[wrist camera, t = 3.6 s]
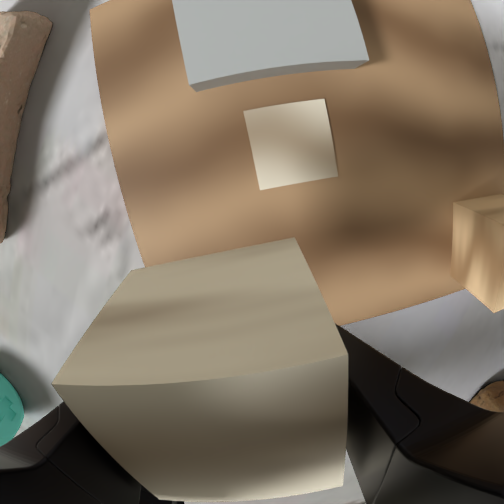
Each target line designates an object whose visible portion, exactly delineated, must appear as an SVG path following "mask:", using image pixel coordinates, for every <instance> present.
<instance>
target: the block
mask: <svg viewBox="0 0 504 504" xmlns="http://www.w3.org/2000/svg"><path fill="white" fill-rule="evenodd" d="M470 403H472V404H474V405H476V406H478V407H481V408H483V409H486V410H490V411H496V412H504V381H497V382H493V383H491V384H489V385H488V386H486V387H485V388H484V389H481V390H480V391H479V393H478V394H477V395H476V396H475V397H474V398H473V399H472V400H471V401H470Z"/></svg>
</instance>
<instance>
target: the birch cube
mask: <svg viewBox="0 0 504 504" xmlns="http://www.w3.org/2000/svg"><path fill="white" fill-rule="evenodd" d="M52 386H53V387H54V389H55V390H56V391H57V393H58V394H59V395H60V397H61V398H62V399H63V401H64V402H65V403H66V405H67V406H68V407H69V409H70V410H71V411H72V412H73V414H74V415H75V416H76V417H77V418H78V420H79V421H80V422H81V423H82V424H83V426H84V427H85V428H86V429H87V430H88V431H89V433H90V434H91V435H92V436H93V437H94V438H95V439H96V440H97V442H98V443H99V444H100V445H101V446H102V447H103V448H104V449H105V450H106V451H107V452H108V453H109V454H110V455H111V456H112V457H113V458H114V459H115V460H116V461H117V462H118V463H119V464H120V465H121V466H122V467H123V468H124V469H125V470H126V471H127V472H128V473H129V474H130V475H131V476H133V477H134V478H135V479H136V480H137V481H138V482H139V483H140V484H142V485H143V486H144V487H145V488H146V489H147V490H148V491H150V492H151V493H152V494H153V495H155V496H156V497H157V498H158V499H159V500H172V501H190V502H230V501H249V500H261V499H271V498H279V497H287V496H294V495H300V494H306V493H311V492H317V491H322V490H326V489H331V488H335V487H340V486H343V477H344V466H345V453H346V438H347V416H348V353H347V350H346V348H345V346H344V343H343V341H342V339H341V336H340V334H339V332H338V330H337V327H336V325H335V323H334V321H333V318H332V316H331V314H330V312H329V309H328V307H327V305H326V303H325V301H324V298H323V296H322V294H321V292H320V290H319V288H318V285H317V283H316V281H315V279H314V277H313V275H312V273H311V270H310V268H309V266H308V264H307V262H306V260H305V258H304V256H303V254H302V252H301V249H300V247H299V245H298V243H297V241H296V239H295V237H294V238H289V239H284V240H279V241H274V242H269V243H264V244H259V245H254V246H249V247H244V248H239V249H234V250H229V251H224V252H219V253H214V254H209V255H204V256H199V257H194V258H189V259H184V260H179V261H174V262H170V263H165V264H160V265H155V266H150V267H145V268H140V269H135V270H131V271H130V273H129V274H128V275H127V277H126V278H125V279H124V280H123V282H122V283H121V284H120V286H119V287H118V288H117V290H116V291H115V292H114V294H113V295H112V296H111V298H110V299H109V300H108V302H107V303H106V304H105V306H104V307H103V308H102V310H101V311H100V313H99V314H98V315H97V317H96V318H95V319H94V321H93V322H92V324H91V325H90V327H89V328H88V329H87V331H86V332H85V334H84V335H83V337H82V338H81V339H80V341H79V342H78V344H77V345H76V347H75V348H74V350H73V351H72V353H71V354H70V356H69V357H68V359H67V360H66V362H65V363H64V365H63V366H62V368H61V369H60V371H59V373H58V374H57V376H56V377H55V379H54V381H53V382H52Z"/></svg>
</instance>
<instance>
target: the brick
mask: <svg viewBox="0 0 504 504" xmlns="http://www.w3.org/2000/svg"><path fill="white" fill-rule="evenodd" d="M51 28H52V22H51V21H49V19H48V18H47V17H45V16H41V15H39V14H38V13H36V12H31V11H20V12H17V11H15V12H3V11H2V12H0V243H2V242H3V239H4V237H5V231H6V223H7V214H8V202H7V195H8V194H9V193H10V188H11V185H10V177H11V174H12V168H13V162H14V155H15V151H16V145H17V137H18V134H19V129H20V124H21V118H22V114H23V111H24V107H25V103H26V100H27V96H28V92H29V88H30V84H31V82H32V80H33V77H34V75H35V72H36V69H37V67H38V63H39V60H40V57H41V54H42V51H43V48H44V45H45V43H46V40H47V38H48V36H49V33H50V31H51Z"/></svg>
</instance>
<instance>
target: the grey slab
mask: <svg viewBox="0 0 504 504" xmlns="http://www.w3.org/2000/svg"><path fill="white" fill-rule="evenodd" d="M172 3H173V8H174V13H175V19H176V24H177V29H178V34H179V39H180V44H181V49H182V54H183V59H184V64H185V69H186V73H187V78H188V83H189V86H191V87H192V88H193V89H194V90H195V91H196V92H199V91H203V90H207V89H211V88H215V87H220V86H224V85H229V84H234V83H239V82H244V81H249V80H255V79H261V78H267V77H273V76H280V75H288V74H296V73H304V72H314V71H326V70H341V69H355V68H357V67H359V66H360V65H362V64H364V63H366V62H367V61H369V57H368V53H367V49H366V46H365V42H364V39H363V35H362V32H361V29H360V25H359V22H358V19H357V16H356V13H355V10H354V7H353V4H352V1H351V0H172Z"/></svg>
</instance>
